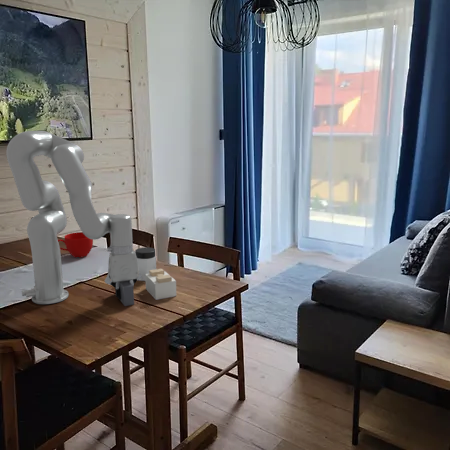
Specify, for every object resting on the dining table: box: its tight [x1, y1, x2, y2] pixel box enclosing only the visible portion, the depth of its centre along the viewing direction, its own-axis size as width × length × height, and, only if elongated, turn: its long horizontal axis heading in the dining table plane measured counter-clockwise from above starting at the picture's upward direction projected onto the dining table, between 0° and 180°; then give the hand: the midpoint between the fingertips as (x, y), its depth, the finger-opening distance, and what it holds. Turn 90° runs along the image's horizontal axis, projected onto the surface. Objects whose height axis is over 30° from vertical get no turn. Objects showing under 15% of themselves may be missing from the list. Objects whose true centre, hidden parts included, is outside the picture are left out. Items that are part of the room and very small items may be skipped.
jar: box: [134, 247, 157, 282], centre depth 184 cm, size 9×8×12 cm
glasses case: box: [119, 280, 135, 307], centre depth 163 cm, size 3×13×7 cm, turn 27°
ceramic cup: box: [57, 231, 94, 258], centre depth 213 cm, size 13×17×10 cm
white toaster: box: [145, 268, 177, 301], centre depth 169 cm, size 8×12×8 cm, turn 27°
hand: (124, 296), depth 163 cm, fingers closed on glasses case, 3 cm apart
